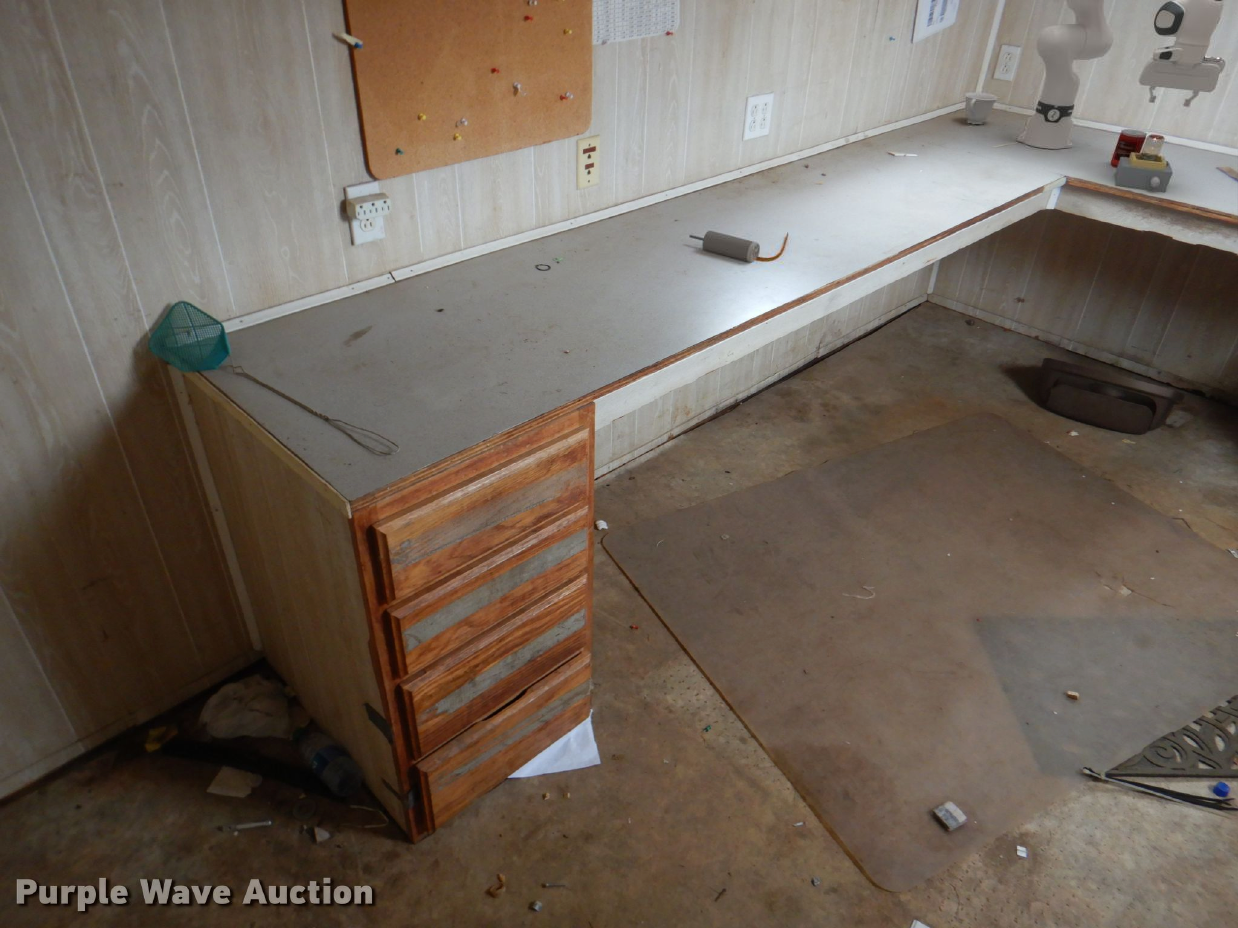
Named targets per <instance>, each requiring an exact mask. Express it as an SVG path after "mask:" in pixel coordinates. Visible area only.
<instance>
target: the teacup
mask: <svg viewBox="0 0 1238 928" xmlns="http://www.w3.org/2000/svg"><path fill="white" fill-rule="evenodd" d="M964 97H965V105H964V117H965V118H966V119H967V121H966V123H967V122H968V123H967V124H969V123H972V124H981V123H982V124H983V122H984V121H986V120H987V119H989V117H990V115H991V112H992V110H993V108H994V105H995V103H996V100H998V99H999V97H998V96H997V95H994V94H990V93H984V92H967V93H965V94H964ZM972 124H971V125H972ZM982 124H981V125H982Z"/></svg>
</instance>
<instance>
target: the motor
mask: <svg viewBox="0 0 1238 928" xmlns="http://www.w3.org/2000/svg"><path fill="white" fill-rule="evenodd" d="M689 238H691V239H695V240H699V241H702V249H703V251H707V252H711V253H715V254H718V255H722V256H724V257H728V258H732V259H737V260H740V261H744V262H747V263H754V262H755V261H759V262H771V261H774V260H777V259H779V258H780V256H782V254H783V252H784V251H785V248H786V245H787V242H788V238H789V232H787V233H786V235H785V240H784V243H783V246H782V248H781V250H780V251H779V252H778V253H777V254H775V255H774V256H770V257H763V256H759V254H760V251H761V250H760V249H761V247H760V243H758V241H753V240H750V239H745V238H741V237H737V236H733V235H729V234H726V233H720V232H717V231H713V230H707V232H705V234H704V237H701V236H697V235H693V234H689Z"/></svg>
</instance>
